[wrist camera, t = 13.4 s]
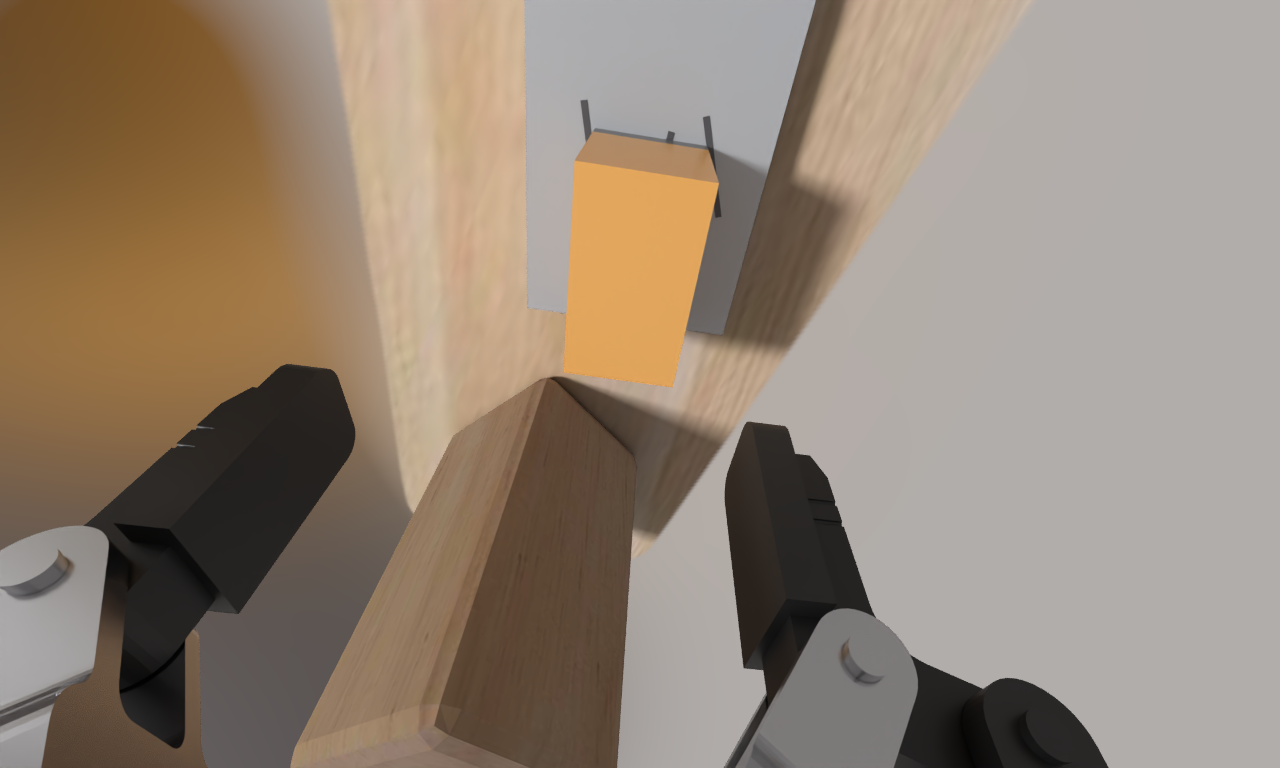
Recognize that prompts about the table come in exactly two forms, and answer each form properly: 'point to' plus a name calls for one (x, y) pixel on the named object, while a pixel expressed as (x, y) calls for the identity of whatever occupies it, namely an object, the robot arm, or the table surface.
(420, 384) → the table surface
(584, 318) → the block
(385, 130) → the table surface
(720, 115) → the board
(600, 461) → the block
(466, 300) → the table surface
